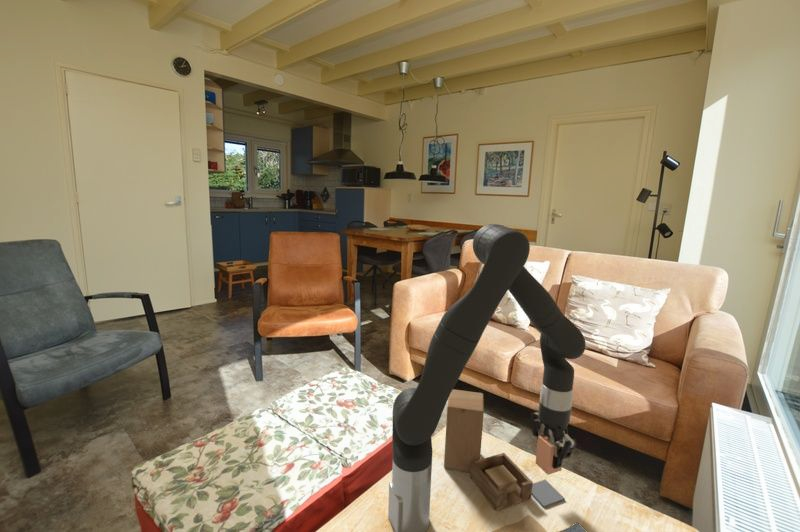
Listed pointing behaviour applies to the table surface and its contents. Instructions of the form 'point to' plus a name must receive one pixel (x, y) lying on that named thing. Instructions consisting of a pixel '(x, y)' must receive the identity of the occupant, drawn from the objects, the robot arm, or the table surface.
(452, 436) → the wooden block
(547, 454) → the block
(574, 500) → the table surface
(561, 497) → the pad
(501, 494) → the crate
